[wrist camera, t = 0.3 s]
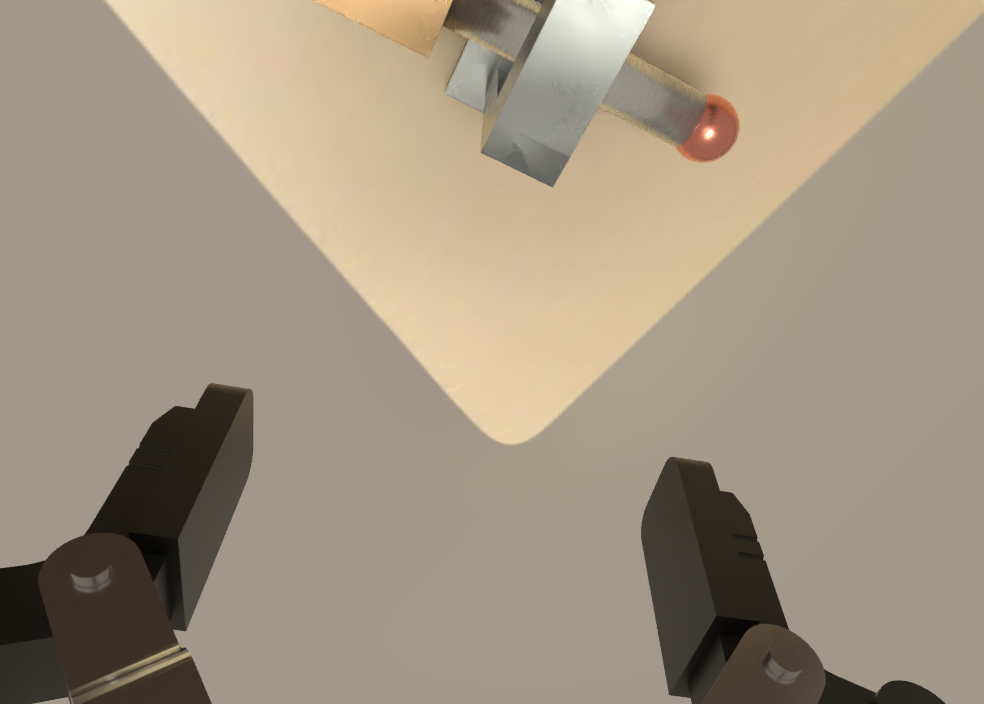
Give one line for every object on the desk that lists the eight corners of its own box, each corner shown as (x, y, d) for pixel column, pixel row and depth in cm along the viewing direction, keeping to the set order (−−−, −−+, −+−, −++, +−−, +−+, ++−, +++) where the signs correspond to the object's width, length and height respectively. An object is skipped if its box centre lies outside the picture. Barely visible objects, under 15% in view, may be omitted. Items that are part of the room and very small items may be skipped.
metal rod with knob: (289, -33, 31) (256, -14, 27) (329, -165, 28) (299, -166, 24) (686, 171, 36) (710, 215, 32) (751, 74, 33) (787, 107, 29)
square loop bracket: (542, -128, 32) (558, -115, 23) (660, -57, 33) (721, -18, 24) (446, 87, 37) (426, 169, 28) (552, 141, 38) (568, 236, 29)
